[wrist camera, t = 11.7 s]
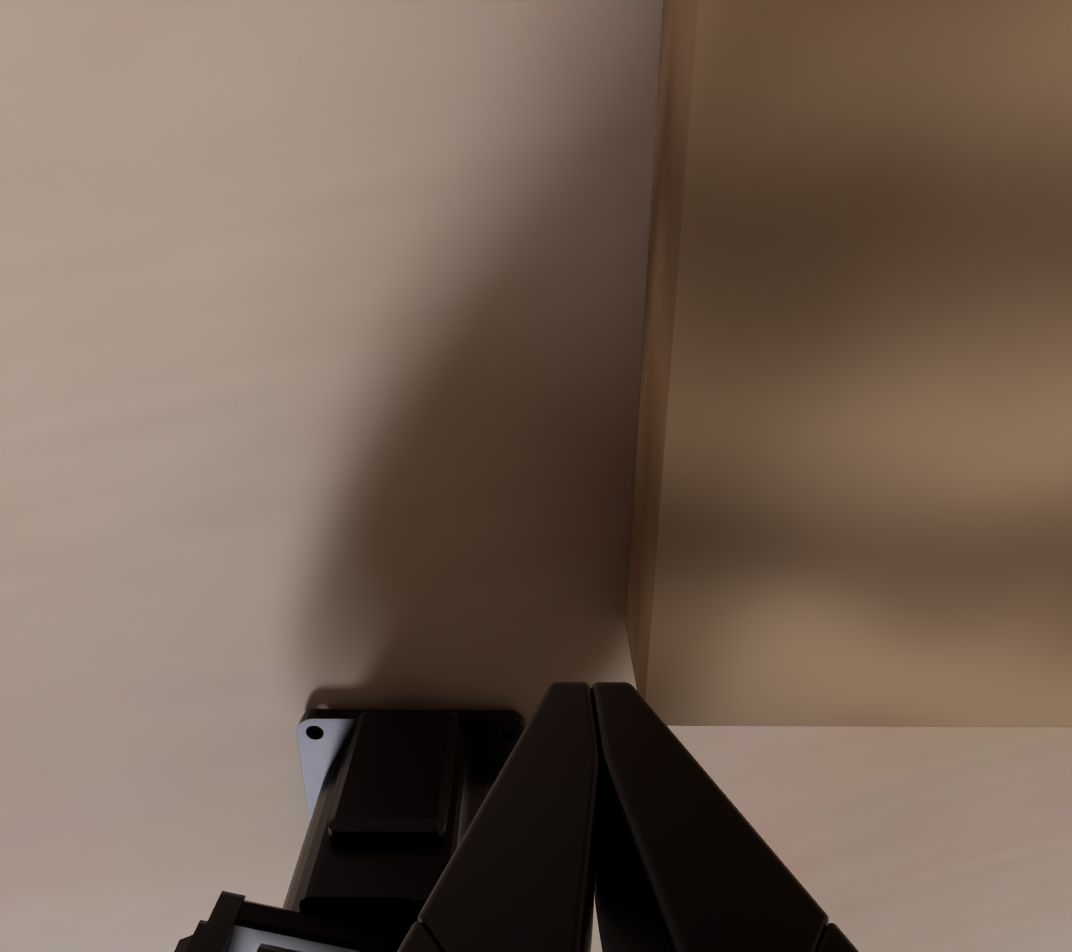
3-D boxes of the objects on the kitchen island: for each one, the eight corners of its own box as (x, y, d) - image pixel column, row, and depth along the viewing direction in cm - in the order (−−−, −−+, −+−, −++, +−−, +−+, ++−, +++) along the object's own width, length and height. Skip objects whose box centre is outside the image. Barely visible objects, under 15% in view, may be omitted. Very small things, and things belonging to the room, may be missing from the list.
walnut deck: (1131, 629, 23) (1247, 727, 19) (625, 626, 22) (643, 725, 19) (1527, -473, 14) (1890, -688, 10) (693, -482, 14) (751, -703, 10)
